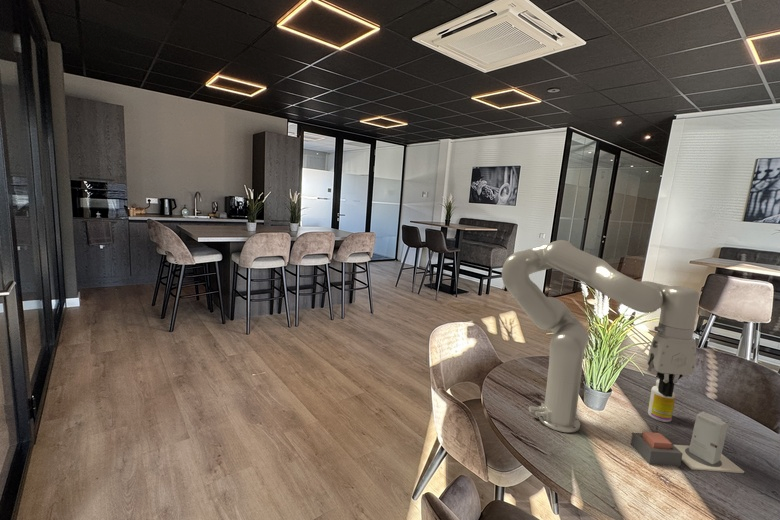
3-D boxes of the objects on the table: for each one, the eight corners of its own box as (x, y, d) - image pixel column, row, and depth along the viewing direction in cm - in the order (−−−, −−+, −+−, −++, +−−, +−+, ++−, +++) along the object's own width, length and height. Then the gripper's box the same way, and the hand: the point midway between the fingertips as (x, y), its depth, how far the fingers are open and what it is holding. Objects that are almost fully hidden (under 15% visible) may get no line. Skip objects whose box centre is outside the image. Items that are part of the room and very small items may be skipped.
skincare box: (687, 452, 105) (694, 413, 103) (695, 448, 107) (702, 410, 105) (714, 465, 99) (722, 425, 98) (721, 461, 101) (729, 421, 100)
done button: (652, 452, 101) (654, 442, 101) (641, 441, 106) (643, 431, 105) (670, 453, 101) (672, 443, 100) (658, 442, 106) (660, 433, 105)
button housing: (649, 464, 100) (651, 451, 99) (630, 444, 108) (632, 432, 107) (680, 466, 99) (682, 453, 99) (659, 446, 108) (661, 434, 107)
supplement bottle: (675, 424, 120) (681, 388, 118) (653, 421, 121) (659, 385, 119) (664, 413, 126) (670, 379, 125) (643, 410, 128) (649, 376, 126)
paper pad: (691, 469, 98) (691, 467, 98) (665, 445, 108) (665, 443, 108) (744, 473, 98) (744, 471, 98) (713, 448, 108) (713, 447, 108)
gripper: (656, 334, 95) (646, 399, 98) (714, 338, 94) (703, 403, 97) (638, 325, 102) (629, 386, 105) (692, 328, 102) (682, 389, 104)
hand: (664, 394), depth 101 cm, fingers closed
